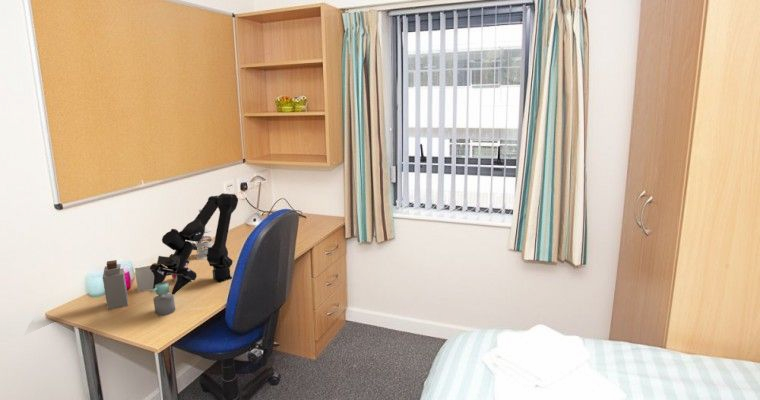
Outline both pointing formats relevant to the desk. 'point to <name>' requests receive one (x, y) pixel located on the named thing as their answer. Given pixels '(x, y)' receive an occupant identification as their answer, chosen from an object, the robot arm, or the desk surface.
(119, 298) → the perfume bottle
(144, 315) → the desk surface
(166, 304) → the grey rounded lump
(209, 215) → the robot arm
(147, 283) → the grey rectangular block
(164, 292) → the pump head
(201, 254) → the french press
